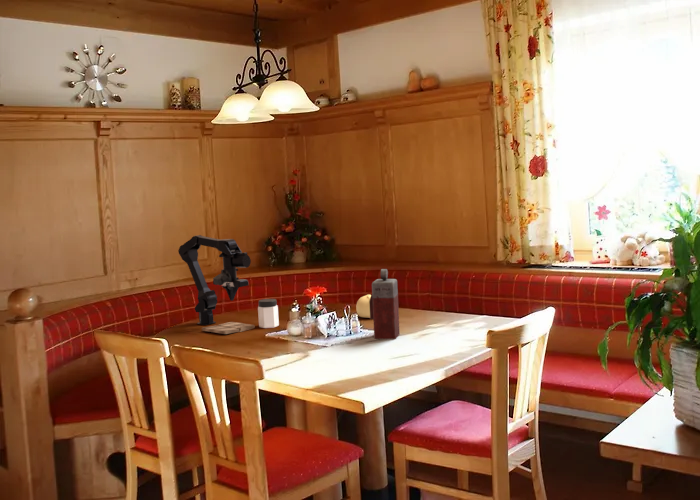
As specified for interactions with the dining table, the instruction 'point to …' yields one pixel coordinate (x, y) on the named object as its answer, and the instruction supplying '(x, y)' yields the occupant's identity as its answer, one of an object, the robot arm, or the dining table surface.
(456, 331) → the dining table surface
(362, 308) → the sculpture
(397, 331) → the red grey rectangular bottle
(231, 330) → the plank
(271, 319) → the jar
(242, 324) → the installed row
